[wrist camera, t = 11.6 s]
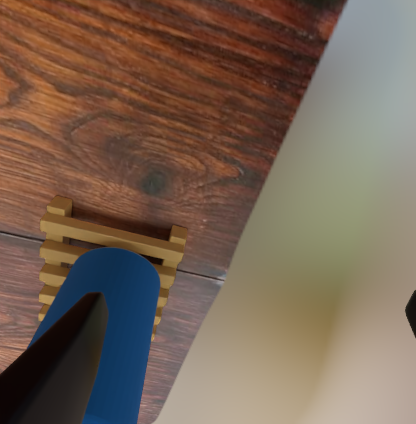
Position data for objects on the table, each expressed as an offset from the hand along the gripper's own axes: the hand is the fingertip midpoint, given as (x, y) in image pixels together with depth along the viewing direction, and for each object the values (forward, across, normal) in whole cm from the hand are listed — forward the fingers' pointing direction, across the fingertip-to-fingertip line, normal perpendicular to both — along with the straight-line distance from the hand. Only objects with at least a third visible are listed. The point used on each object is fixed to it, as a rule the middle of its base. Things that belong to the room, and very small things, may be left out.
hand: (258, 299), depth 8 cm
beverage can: (+11, +8, +9) cm, 16 cm away
